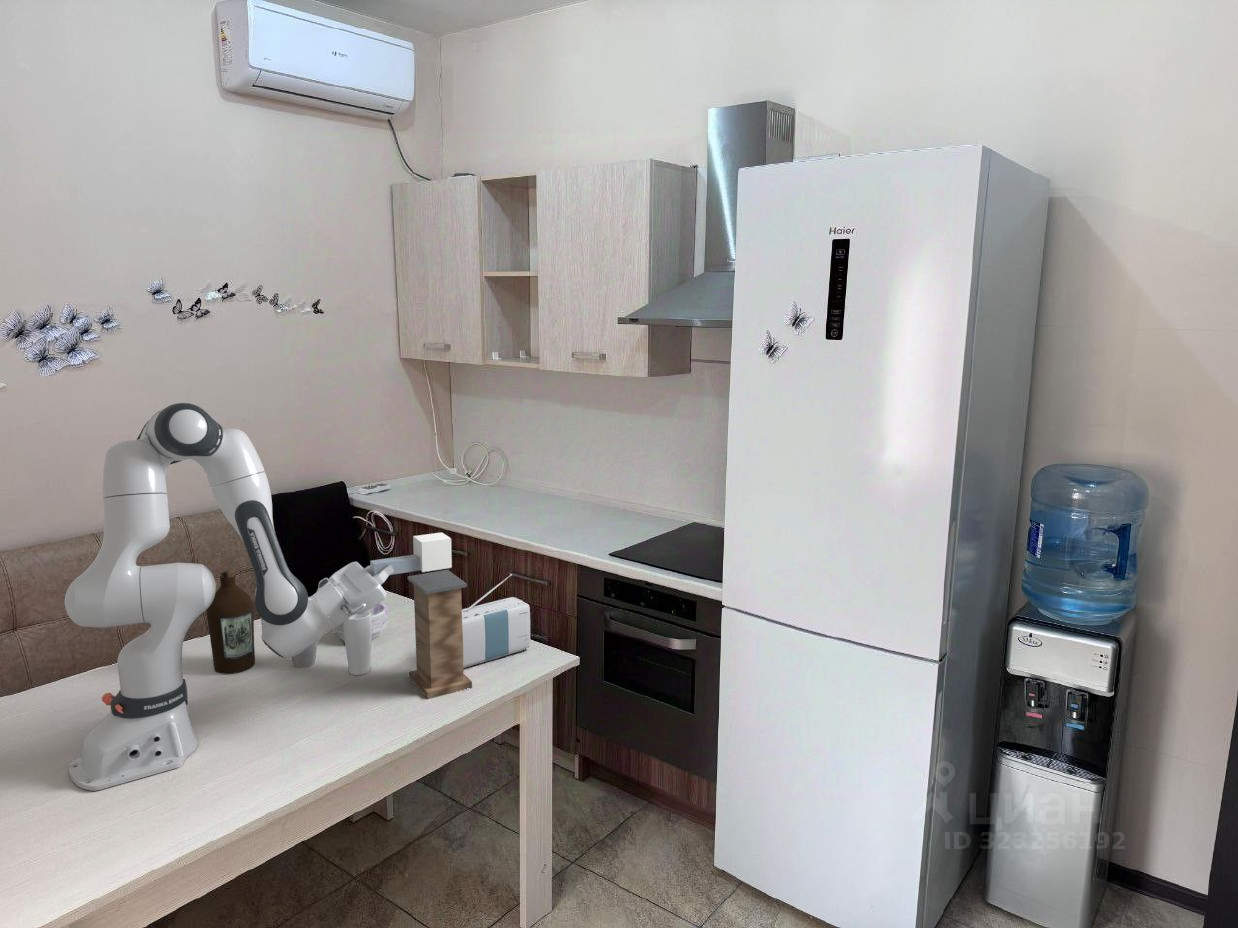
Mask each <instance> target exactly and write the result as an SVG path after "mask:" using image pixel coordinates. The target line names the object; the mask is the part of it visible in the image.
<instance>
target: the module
mask: <svg viewBox="0 0 1238 928" xmlns="http://www.w3.org/2000/svg"><path fill="white" fill-rule="evenodd" d="M412 540H413V541H412V545H413V546H412V547H413V549H412V550H413V554H410V555H409V554H408V555H401V556H394V557H388V558H380V559H375V560H374V559H373V560H370V561H369V564H370V566H371V574H372V575H373V576H375V575H376V574H377V575H378V574H379V573H380V572H381V571H382V570H383V569H382V568H383V567H385V566H386V565H388V564H389V565H390V566H392V568H393V569H394V572H393V573H392V574H390V575H389V576H391V575H392V576H393V575H397V574H398V575H399V574H405V573H411V572H418V571H420V572H422V573H426V572H431V571H433V572H434V571H438V570H439V571H440V570H447V569H451V568H452V567H453V564H452V563H453V561H452V538H451V537H450V536H448V535H447V534H445V533H443V532H435V533H429V534H428V533H427V534H420V535H413V536H412ZM373 576H372V577H373Z"/></svg>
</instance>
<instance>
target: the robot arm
mask: <svg viewBox="0 0 1238 928" xmlns="http://www.w3.org/2000/svg"><path fill="white" fill-rule="evenodd" d="M187 460H193V461H195V462H196V463H198V464H199V465H200V467H201V468H202V470H203V471H204V473H205V474H206V477H207V479H208V484H209V486H210V489H211V492H212V495H213V497H214V499H215V502H216V504H217V505H218V507H219V509H220V510H221V512H222V513H223V515H224V517H225V518H226V520H227V521H228V523H230V525H231V526H232V527H233V529H234V530H235V531H236V533H237V534H238V536H239V537H240V539H241V541H242V543H243V545H244V548H245V551H246V554H247V556H248V559H249V562H250V565H251V568H252V570H253V573H254V576H255V582H256V586H255V587H256V588H255V590H254V591H255V592H254V601H255V602H254V605H255V606H254V607H255V610H256V613H257V614H258V616H259V617H260V621H261V622H260V623H261V641H262V642H263V643H264V645H265V646H266V647H267V648H269V650H271V652H273V653H274V654H275V655H277V656H278V657H280V658H282V659H292V658H291V657H294V656H296V655H298V654H300V653H301V652H303V651H305V650H306V649H308V648H309V647H311V646H312V645H313V644H315V643H316V642H317V643H318V642H319V641H320V640H322V638H323V637H324V635H326V634H327V633H329V632H330V631H331V630H333V629H335V628H337V627H338V626H339V625H341V624H342V623H343V622H345V621H346V620H347V619H349V618H350V617H351V616H353V615H355V614H362V613H364V612H366V611H367V610H369V609H371V608H372V607H374V606H375V605H377V604H378V603H380V602H381V603H382V602H383V601H384V600H385V599H386V597H387V595H388V594H387V592H386V590H385V589H384V588H383V586H382V585H383V584H384V583H385V581H386V580H387V579H388V578H389V576H391V575H390V574H392V573H393V572H394V569H393V568H392V566H390V565H389V564H388V565H386V566H385V567H383V568H382V569H383V570H382V571H381V572H380V573H379V574H378V575H377V574H376V575H375V576H373V575H372V574H371V566H370V565H367V566H366V567H363V566H362V565H361V564H360V563H359V562H358V561H352V562H350V563H348V564H347V565H345V566H343V567H341V568H340V569H339V570H337V571H335V572H334V573H333V574H332V575H331V576H330V577H329V578H328V577H324V578H323V579H321V580H320V581H319V582H318V586H317V587H318V588H317V590H316V592H315V593H314V594H313V595H311V596H309V595H308V594H309V593H308V591H307V589H306V587H305V585H304V584H303V583H302V582H301V580H299V579H298V578H297V577H296V576H295V575H294V574H293V573H292V572H291V570H290V569H289V567H288V565H287V562H286V560H285V556H284V553H283V551H282V548H281V545H280V543H279V540H278V537H277V534H276V531H275V526H274V519H273V501H272V498H273V497H272V493H271V492H272V491H271V488H270V487H271V486H270V483H269V480H268V476H267V473H266V470H265V468H264V465H263V463H262V459H261V458H260V455H259V454H258V451H257V449H256V448H255V445H254V444H253V442H252V441H251V439H250V437H249V436H248V435H247V434H246V432H244V431H243V430H241V429H239V428H232V427H227V428H226V427H225V428H223V426H221V424H220V423H218V422H217V421H216V420H215V419H214V418H213V417H212V416H211V415H210V414H209V413H208V412H207V411H206V410H205V409H203V408H202V407H200V406H198V405H195V404H193V403H189V402H179V403H173V404H170V405H168V406H166V407H165V408H162V409H160V410H158V411H156V413H155V414H153V415H152V416H151V417H150V419H149V420H147V422H146V423H145V424H144V426H143V427H142V429H141V430H140V433H139V435H138V436H137V438H136V439H128V440H124V441H121V442H118V443H115V444H113V445H112V446H111V447H110V448H109V449H108V450H107V452H106V453H105V459H104V464H103V472H102V473H103V474H102V498H103V500H102V501H103V519H104V520H103V521H104V523H103V537H102V538H103V539H102V542H101V543H102V544H101V545H100V549H99V551H98V554H97V555H96V557H95V558H94V560H93V561H92V562H91V564H90V565H89V566H88V567H87V568H86V570H84V571H83V572H82V573H81V574H80V575H79V576H78V575H77V576H78V577H76V578H74V579H73V581H72V582H71V583H70V585H69V586H68V588H67V590H66V593H65V597H64V607H65V611H66V613H67V615H68V617H69V619H70V620H71V621H72V622H73V623H74V624H75V625H77V626H79V627H84V628H113V627H120V626H129V625H136V624H141V623H142V624H143V623H145V624H147V623H148V624H150V627H149V628H148V629H147V630H146V631H145V632H144V633H142V634H141V635H138V636H137V637H135V638H133V639H132V640H130V641H128V643H126V644H125V645H124V646H123V647H122V649H121V650H119V651H120V652H119V654H118V656H117V670H118V678H119V679H118V680H119V681H118V682H119V688H120V690H119V691H118V692H117V694H116V695H113V693H111V692H106V693H104V694H103V695H102V697H101V701H102V703H104V704H105V705H106V706H110V713H109V714H107V716H105V717H104V718H103V719H102V720H101V721H100V722H99V723H98V724H97V725H95V727H94V728H93V729H91V730H90V731H89V732H88V733H87V734H85V737H84V739H83V741H82V744H81V752H80V756H79V757H76V758H75V759H72V760H71V762H70V763H69V766H68V775H69V778H70V779H71V781H72V783H74V784H75V785H76V786H77V787H78V788H80V789H84V790H88V791H95V792H97V791H101V790H104V789H108V788H110V787H111V788H112V787H115V786H118V785H121V784H125V783H129V782H131V781H135V780H139V779H143V778H145V777H149V776H152V775H157V774H160V773H164V772H167V771H171V770H175V769H177V768H179V767H181V766H182V765H183V763H184V762H185V759H186V758H187V757H188V756H190V755H191V754H192V753H193V752H194V751H196V749H197V747H198V744H199V740H198V737H197V736H196V734H195V731H194V729H193V726H192V723H191V719H190V716H189V715H190V714H189V712H188V701H189V699H188V698H189V695H188V687H187V682H186V679H185V678H184V675H183V645H184V640H185V638H186V634H187V633H188V631H189V629H190V627H191V626H192V624H193V623H194V622H195V620H197V619H198V618H199V616H200V615H202V614H203V613H204V612H205V611H206V610H207V609H208V608H209V606H210V605H211V603H212V602H213V600H214V597H215V594H216V591H217V583H216V580H215V577H214V574H213V573H212V571H211V570H210V569H209V567H207V566H206V565H205V564H203V563H194V562H173V563H172V562H171V563H162V564H153V565H152V564H151V565H143V566H141V565H140V566H139V565H137V559H138V558H139V556H140V554H142V553H143V552H145V551H146V550H148V549H150V548H152V547H153V546H156V545H157V544H159V543H161V542H162V541H163V540H165V538H167V535H168V534H169V532H170V529H171V525H170V513H169V509H170V508H169V499H168V489H167V486H168V485H167V481H166V480H167V479H166V478H167V473H168V468H169V466H171V465H173V464H177V463H180V462H182V461H187ZM319 604H320V605H319ZM331 620H332V621H333V622H332V621H331ZM335 625H336V626H337V627H336V626H335Z"/></svg>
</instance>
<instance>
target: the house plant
mask: <svg viewBox="0 0 1238 928" xmlns="http://www.w3.org/2000/svg"><path fill="white" fill-rule="evenodd" d="M318 604H319V603H318ZM319 605H320V604H319ZM317 646H318V642H316V643H315V644H313V645H312V646H311V647H309V648H308V649H306V650H305V651H303V652H301V653H300V654H298V655H296V656H294V657H291V658H290V659H291V661H292V665H293V667H294V668H297V669H305V668H309V667H312V666H313V665H314V664H315V663H316V656H317V648H318V647H317Z"/></svg>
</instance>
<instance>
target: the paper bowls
mask: <svg viewBox="0 0 1238 928" xmlns="http://www.w3.org/2000/svg"><path fill="white" fill-rule="evenodd" d="M367 611H370V612H371V619H372V640H373V639H375V638H376V637H378V636H379V635H380V633H381V631H383V630H385V629H386V627H387V626H388V623H389V622H388V621H389V617H388V615H389V609H388V606H387V605H386V604H384V603H382V601H381V602H380V603H378V604H377V605H375V606H374V607H372V608H371V609H369V610H367ZM331 621H332V620H331ZM332 622H333V621H332ZM335 626H336V625H335ZM336 627H337V626H336ZM330 631H331V632H332V633H334V634H336V635H338V636H339V638H340V639H341V640H343V641H344V642H345V640H344V633H343V623H342V624H341V625H339V626H338V627H337V628H335V629H333V630H330Z"/></svg>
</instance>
